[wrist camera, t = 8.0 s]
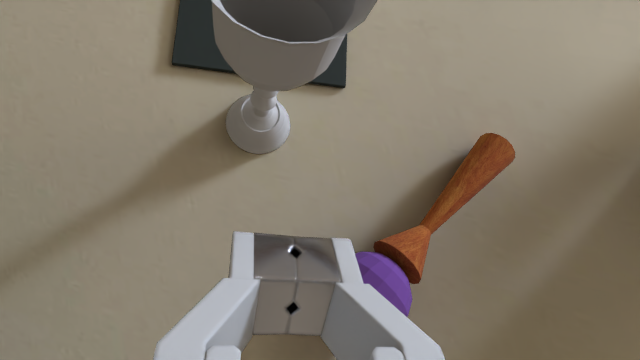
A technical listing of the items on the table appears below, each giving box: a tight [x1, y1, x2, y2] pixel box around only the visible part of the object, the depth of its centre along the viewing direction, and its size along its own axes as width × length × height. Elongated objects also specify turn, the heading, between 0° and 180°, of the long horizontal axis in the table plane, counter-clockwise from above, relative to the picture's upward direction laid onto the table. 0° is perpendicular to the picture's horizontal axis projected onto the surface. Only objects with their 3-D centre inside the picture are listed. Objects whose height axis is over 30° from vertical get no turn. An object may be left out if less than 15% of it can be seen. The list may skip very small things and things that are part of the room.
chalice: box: [211, 0, 377, 154], centre depth 25 cm, size 7×7×18 cm
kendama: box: [355, 133, 515, 317], centre depth 32 cm, size 6×6×20 cm
